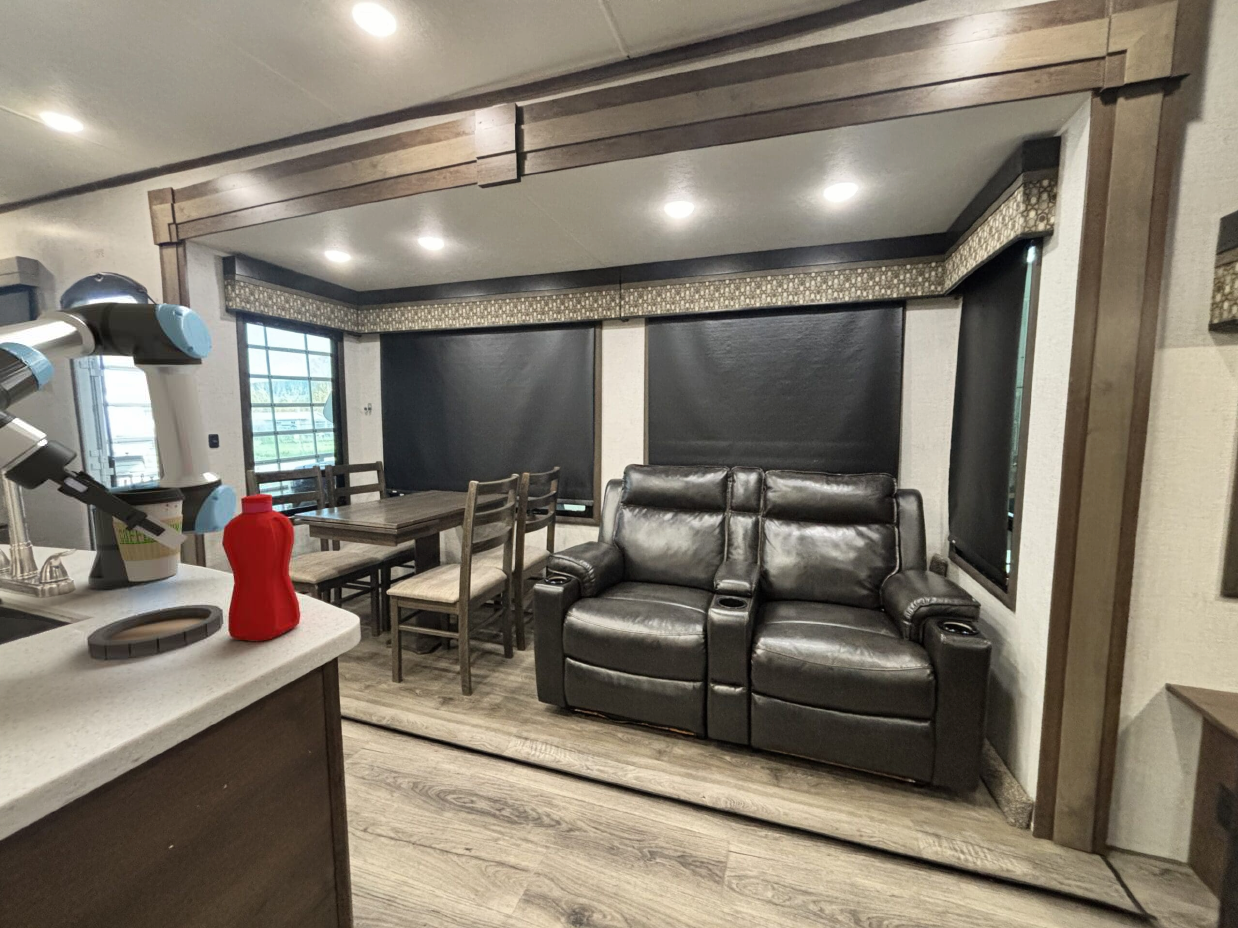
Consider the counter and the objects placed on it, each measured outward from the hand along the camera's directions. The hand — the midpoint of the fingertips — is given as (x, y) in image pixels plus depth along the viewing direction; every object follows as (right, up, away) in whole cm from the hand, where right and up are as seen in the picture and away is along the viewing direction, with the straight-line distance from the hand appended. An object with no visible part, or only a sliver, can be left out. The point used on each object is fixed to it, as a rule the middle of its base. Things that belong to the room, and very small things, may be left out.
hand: (174, 538), depth 87 cm
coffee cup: (-2, -6, -2) cm, 7 cm away
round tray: (-2, -17, -1) cm, 17 cm away
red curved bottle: (+15, -17, +1) cm, 23 cm away
